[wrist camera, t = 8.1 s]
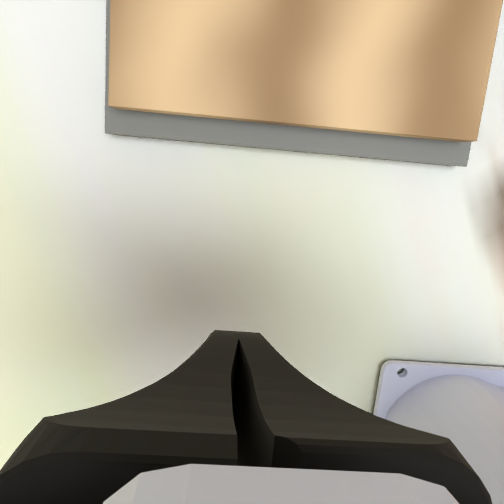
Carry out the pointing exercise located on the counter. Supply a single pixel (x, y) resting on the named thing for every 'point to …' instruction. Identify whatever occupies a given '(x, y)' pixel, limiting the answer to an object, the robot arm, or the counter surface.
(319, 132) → the underlay
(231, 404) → the robot arm
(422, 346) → the counter surface
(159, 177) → the counter surface
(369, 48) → the plank
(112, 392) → the counter surface
